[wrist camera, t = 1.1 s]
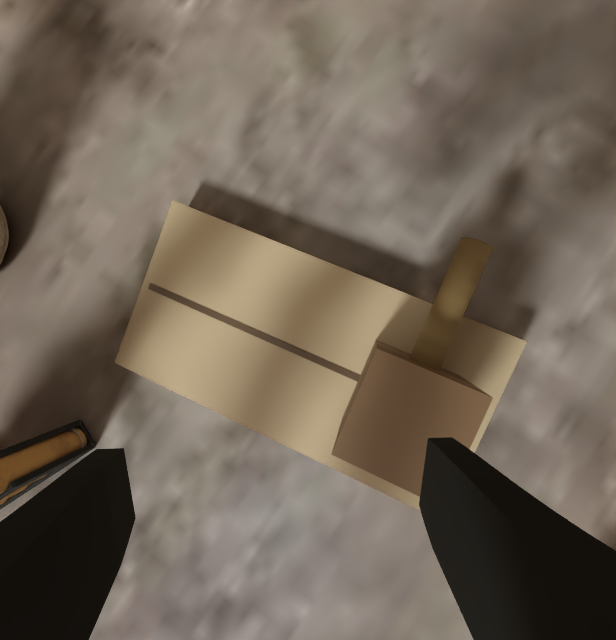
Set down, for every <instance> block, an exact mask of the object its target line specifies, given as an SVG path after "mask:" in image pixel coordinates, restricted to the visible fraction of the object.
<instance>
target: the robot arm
mask: <svg viewBox="0 0 616 640" xmlns="http://www.w3.org/2000/svg"><path fill="white" fill-rule="evenodd" d="M419 507H420V510H421V513H422V517H423V520H424V523H425V526H426V530H427V533H428V536H429V539H430V542H431V545H432V548H433V550H434V552H435V555H436V557H437V559H438V561H439V564H440V566H441V568H442V570H443V573H444V575H445V577H446V579H447V582H448V584H449V586H450V588H451V591H452V593H453V595H454V597H455V599H456V602H457V604H458V606H459V608H460V610H461V613H462V615H463V617H464V619H465V622H466V624H467V626H468V628H469V630H470V633H471V635H472V637H473V639H474V640H616V551H615V550H614V549H612V548H610V547H609V546H607V545H605V544H604V543H602V542H601V541H599V540H597V539H596V538H594V537H593V536H591V535H590V534H588V533H586V532H585V531H583V530H582V529H580V528H579V527H577V526H576V525H574V524H573V523H571V522H570V521H568V520H567V519H565V518H564V517H562V516H561V515H559V514H558V513H556V512H555V511H553V510H552V509H550V508H549V507H548V506H546V505H545V504H543V503H542V502H540V501H539V500H538V499H536V498H535V497H533V496H532V495H531V494H529V493H528V492H526V491H525V490H524V489H522V488H521V487H519V486H518V485H517V484H515V483H514V482H513V481H511V480H510V479H509V478H507V477H506V476H504V475H503V474H502V473H500V472H499V471H498V470H496V469H495V468H494V467H492V466H491V465H490V464H488V463H487V462H486V461H484V460H483V459H482V458H480V457H479V456H478V455H476V454H475V453H474V452H472V451H471V450H470V449H468V448H467V447H466V446H464V445H463V444H461V443H460V442H458V441H457V440H456V439H454V438H452V437H445V438H428V441H427V448H426V456H425V463H424V470H423V478H422V485H421V492H420V500H419ZM134 521H135V512H134V506H133V500H132V494H131V489H130V483H129V477H128V471H127V465H126V459H125V453H124V448H120V449H96V450H95V451H93V452H92V453H90V454H89V455H88V456H86V457H85V458H84V459H82V460H81V461H80V462H78V463H77V464H76V465H74V466H73V467H72V468H70V469H69V470H68V471H66V472H65V473H64V474H63V475H61V476H60V477H59V478H57V479H56V480H55V481H54V482H52V483H51V484H50V485H48V486H47V487H46V488H44V489H43V490H42V491H41V492H39V493H38V494H37V495H35V496H34V497H33V498H31V499H30V500H29V501H27V502H26V503H25V504H23V505H22V506H21V507H19V508H18V509H17V510H16V511H14V512H13V513H12V514H10V515H9V516H8V517H6V518H5V519H4V520H2V521H1V522H0V640H89V638H90V635H91V633H92V631H93V629H94V626H95V624H96V622H97V619H98V617H99V615H100V613H101V610H102V608H103V606H104V603H105V601H106V599H107V596H108V594H109V592H110V590H111V587H112V585H113V583H114V580H115V578H116V576H117V573H118V571H119V568H120V566H121V563H122V560H123V557H124V554H125V551H126V548H127V545H128V541H129V538H130V535H131V531H132V528H133V524H134Z"/></svg>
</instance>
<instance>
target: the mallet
mask: <svg viewBox="0 0 616 640" xmlns="http://www.w3.org/2000/svg"><path fill="white" fill-rule="evenodd" d="M492 250H493V248H492V247H491V246H490V245H488V244H486V243H484V242H482V241H479V240H476V239H471V238H462V239H461V241H460V243H459V245H458V248H457V250H456V252H455V255H454V257H453V259H452V261H451V264H450V266H449V268H448V271H447V273H446V275H445V277H444V280H443V282H442V284H441V287H440V289H439V291H438V293H437V296H436V298H435V300H434V303H433V305H432V307H431V309H430V312H429V314H428V316H427V319H426V321H425V323H424V325H423V328H422V330H421V332H420V335H419V337H418V339H417V341H416V344H415V346H414V348H413V351H412V353H411V354H408V353H406V352H404V351H401V350H399V349H396V348H394V347H392V346H389V345H387V344H385V343H382V342H380V341H378V340H375V343H374V345H373V347H372V350H371V352H370V354H369V357H368V359H367V361H366V364H365V366H364V368H363V371H362V373H361V375H360V378H359V380H358V382H357V385H356V387H355V389H354V392H353V394H352V396H351V399H350V401H349V403H348V406H347V408H346V410H345V413H344V415H343V417H342V420H341V424H340V427H339V430H338V434H337V437H336V441H335V444H334V447H333V451H332V454H331V455H333V456H335V457H337V458H340V459H342V460H344V461H346V462H348V463H350V464H352V465H354V466H356V467H358V468H360V469H363V470H365V471H367V472H369V473H371V474H373V475H375V476H377V477H379V478H381V479H383V480H386V481H388V482H390V483H392V484H394V485H396V486H398V487H400V488H402V489H404V490H406V491H409V492H411V493H413V494H415V495H417V496H419V497H420V492H421V485H422V478H423V470H424V463H425V456H426V448H427V441H428V438H445V437H452V438H454V439H456V440H457V441H458V442H460V443H461V444H463V445H464V446H466V447H467V448H468V449H470V447H471V445H472V443H473V441H474V438H475V436H476V434H477V432H478V430H479V427H480V425H481V423H482V421H483V419H484V417H485V414H486V412H487V410H488V408H489V406H490V403H491V401H492V399H493V397H491V396H490V395H488V394H487V393H485V392H484V391H482V390H481V389H479V388H478V387H476V386H475V385H473V384H472V383H470V382H469V381H467V380H466V379H464V378H463V377H461V376H460V375H458V374H456V373H453V372H451V371H449V370H446V369H444V368H441V365H442V363H443V360H444V358H445V356H446V354H447V351H448V349H449V347H450V344H451V342H452V340H453V338H454V335H455V333H456V331H457V329H458V326H459V324H460V322H461V320H462V317H463V315H464V313H465V311H466V308H467V306H468V304H469V302H470V299H471V297H472V295H473V293H474V290H475V288H476V286H477V284H478V281H479V279H480V277H481V275H482V272H483V270H484V268H485V266H486V263H487V261H488V259H489V257H490V254H491V252H492Z"/></svg>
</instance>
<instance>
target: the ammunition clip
mask: <svg viewBox="0 0 616 640" xmlns="http://www.w3.org/2000/svg"><path fill="white" fill-rule="evenodd" d="M93 448H95V444H94V442H93V441H92V439H91V437H90V436H89V434H88V432H87V430H86V429H85V427H84V425H83V423H82V422H81V420H78V421H76V422H73V423H71V424H68V425H65V426H63V427H60V428H58V429H55V430H52V431H50V432H47V433H45V434H42V435H39V436H37V437H34V438H32V439H29V440H27V441H24V442H21V443H19V444H16V445H14V446H11V447H8V448H6V449H3V450H1V451H0V509H1V508H3V507H5V506H6V505H8V504H9V503H11V502H12V501H14V500H15V499H17V498H18V497H20V496H21V495H23V494H24V493H26V492H28V491H29V490H31V489H32V488H34V487H35V486H37V485H38V484H40V483H41V482H43V481H44V480H46V479H47V478H49V477H50V476H52V475H54V474H55V473H57V472H58V471H60V470H61V469H63V468H64V467H66V466H67V465H69V464H70V463H72V462H73V461H75V460H77V459H78V458H80V457H81V456H83V455H84V454H86V453H87V452H89V451H90V450H92V449H93Z"/></svg>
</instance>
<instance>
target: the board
mask: <svg viewBox="0 0 616 640" xmlns="http://www.w3.org/2000/svg"><path fill="white" fill-rule="evenodd" d="M432 305H433V304H432V303H429V302H427V301H424V300H422V299H419V298H416V297H414V296H411V295H409V294H406V293H404V292H401V291H399V290H396V289H394V288H391V287H389V286H386V285H384V284H381V283H379V282H376V281H374V280H371V279H369V278H366V277H364V276H361V275H359V274H356V273H354V272H351V271H349V270H346V269H344V268H341V267H339V266H336V265H334V264H331V263H329V262H326V261H324V260H321V259H319V258H316V257H314V256H311V255H309V254H306V253H304V252H301V251H299V250H296V249H294V248H291V247H289V246H286V245H284V244H281V243H279V242H276V241H274V240H271V239H269V238H266V237H263V236H261V235H258V234H256V233H253V232H251V231H248V230H246V229H243V228H241V227H238V226H236V225H233V224H231V223H228V222H226V221H223V220H221V219H218V218H216V217H213V216H211V215H208V214H206V213H203V212H201V211H198V210H196V209H193V208H191V207H188V206H186V205H183V204H181V203H178V202H176V201H172V204H171V207H170V210H169V212H168V215H167V218H166V221H165V223H164V226H163V229H162V232H161V235H160V237H159V240H158V243H157V246H156V248H155V251H154V254H153V257H152V259H151V262H150V265H149V268H148V271H147V273H146V276H145V279H144V282H143V284H142V287H141V290H140V293H139V296H138V298H137V301H136V304H135V307H134V309H133V312H132V315H131V318H130V320H129V323H128V326H127V329H126V332H125V334H124V337H123V340H122V343H121V345H120V348H119V351H118V354H117V357H116V359H115V362H114V363H116V364H118V365H120V366H122V367H124V368H126V369H128V370H130V371H133V372H135V373H137V374H139V375H141V376H143V377H145V378H147V379H149V380H151V381H153V382H155V383H157V384H159V385H161V386H164V387H166V388H168V389H170V390H172V391H174V392H176V393H178V394H180V395H182V396H184V397H186V398H188V399H190V400H192V401H195V402H197V403H199V404H201V405H203V406H205V407H207V408H209V409H211V410H213V411H215V412H217V413H219V414H221V415H223V416H226V417H228V418H230V419H232V420H234V421H236V422H238V423H240V424H242V425H244V426H246V427H248V428H250V429H252V430H255V431H257V432H259V433H261V434H263V435H265V436H267V437H269V438H271V439H273V440H275V441H277V442H279V443H281V444H283V445H286V446H288V447H290V448H292V449H294V450H296V451H298V452H300V453H302V454H304V455H306V456H308V457H310V458H312V459H314V460H317V461H319V462H321V463H323V464H325V465H327V466H329V467H331V468H333V469H335V470H337V471H339V472H341V473H343V474H345V475H348V476H350V477H352V478H354V479H356V480H358V481H360V482H362V483H364V484H366V485H368V486H370V487H372V488H374V489H376V490H379V491H381V492H383V493H385V494H387V495H389V496H391V497H393V498H395V499H397V500H399V501H401V502H403V503H405V504H407V505H410V506H412V507H414V508H416V509H418V510H420V507H419V500H420V497H419V496H417V495H415V494H413V493H411V492H409V491H406V490H404V489H402V488H400V487H398V486H396V485H394V484H392V483H390V482H388V481H386V480H383V479H381V478H379V477H377V476H375V475H373V474H371V473H369V472H367V471H365V470H363V469H360V468H358V467H356V466H354V465H352V464H350V463H348V462H346V461H344V460H342V459H340V458H337V457H335V456H333V455H331V454H332V451H333V447H334V444H335V441H336V437H337V434H338V430H339V427H340V424H341V420H342V417H343V415H344V413H345V410H346V408H347V406H348V403H349V401H350V399H351V396H352V394H353V392H354V389H355V387H356V385H357V382H358V380H359V378H360V375H361V373H362V371H363V368H364V366H365V364H366V361H367V359H368V357H369V354H370V352H371V350H372V347H373V345H374V343H375V340H378V341H380V342H382V343H385V344H387V345H389V346H392V347H394V348H396V349H399V350H401V351H404V352H406V353H408V354H411V353H412V351H413V348H414V346H415V344H416V341H417V339H418V337H419V335H420V332H421V330H422V328H423V325H424V323H425V321H426V319H427V316H428V314H429V312H430V309H431V307H432ZM526 343H527V341H524V340H522V339H519V338H517V337H514V336H512V335H509V334H507V333H504V332H502V331H499V330H497V329H494V328H492V327H489V326H487V325H484V324H482V323H479V322H477V321H474V320H472V319H469V318H467V317H464V316H463V317H462V320H461V322H460V324H459V326H458V329H457V331H456V333H455V335H454V338H453V340H452V342H451V344H450V347H449V349H448V351H447V354H446V356H445V358H444V360H443V363H442V365H441V368H444V369H446V370H449V371H451V372H453V373H456V374H458V375H460V376H461V377H463V378H464V379H466V380H467V381H469V382H470V383H472V384H473V385H475V386H476V387H478V388H479V389H481V390H482V391H484V392H485V393H487V394H488V395H490V396H491V397H493V399H492V401H491V403H490V406H489V408H488V410H487V412H486V414H485V417H484V419H483V421H482V423H481V425H480V427H479V430H478V432H477V434H476V436H475V438H474V441H473V443H472V445H471V447H470V450H471V451H472V452H474V453H475V451H476V449H477V447H478V445H479V443H480V440H481V438H482V436H483V434H484V432H485V430H486V428H487V426H488V423H489V421H490V419H491V417H492V415H493V413H494V411H495V409H496V407H497V404H498V402H499V400H500V398H501V396H502V394H503V392H504V390H505V387H506V385H507V383H508V381H509V379H510V377H511V375H512V373H513V370H514V368H515V366H516V364H517V362H518V360H519V358H520V356H521V353H522V351H523V349H524V347H525V345H526ZM420 511H421V510H420Z"/></svg>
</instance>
